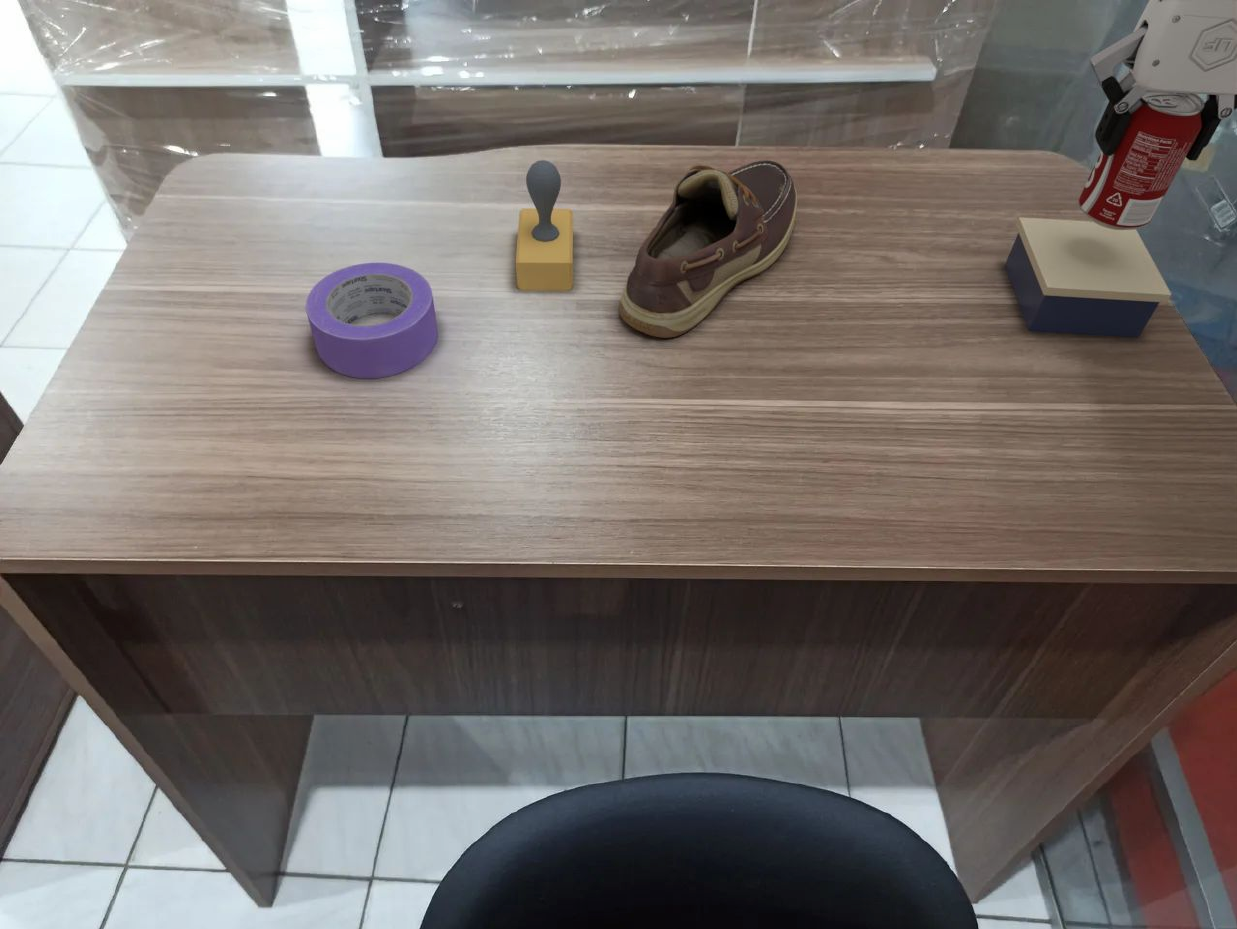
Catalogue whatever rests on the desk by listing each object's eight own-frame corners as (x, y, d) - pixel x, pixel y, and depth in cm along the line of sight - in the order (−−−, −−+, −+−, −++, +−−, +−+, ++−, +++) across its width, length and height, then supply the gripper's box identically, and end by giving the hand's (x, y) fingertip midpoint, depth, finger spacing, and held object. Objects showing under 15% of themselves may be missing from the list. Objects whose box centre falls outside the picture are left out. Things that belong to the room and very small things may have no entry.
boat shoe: (741, 185, 109) (754, 98, 101) (822, 218, 105) (843, 129, 97) (588, 313, 92) (589, 221, 84) (678, 357, 88) (687, 265, 80)
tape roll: (411, 288, 94) (404, 248, 91) (457, 354, 88) (452, 313, 84) (300, 323, 90) (288, 283, 86) (340, 395, 84) (329, 355, 80)
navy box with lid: (1108, 270, 100) (1133, 223, 95) (1143, 341, 92) (1172, 294, 87) (999, 263, 100) (1018, 216, 95) (1024, 334, 92) (1047, 287, 88)
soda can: (1158, 237, 86) (1225, 117, 77) (1088, 234, 86) (1147, 114, 77) (1133, 197, 90) (1194, 80, 81) (1066, 195, 90) (1119, 77, 81)
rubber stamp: (572, 291, 95) (571, 190, 86) (517, 291, 94) (510, 189, 85) (573, 236, 101) (571, 136, 92) (521, 235, 101) (515, 135, 92)
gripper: (1154, -51, 67) (1060, 166, 81) (1391, -39, 67) (1256, 178, 80) (1123, -86, 72) (1039, 124, 85) (1344, -75, 72) (1224, 135, 85)
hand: (1145, 149), depth 83 cm, fingers closed on soda can, 6 cm apart
